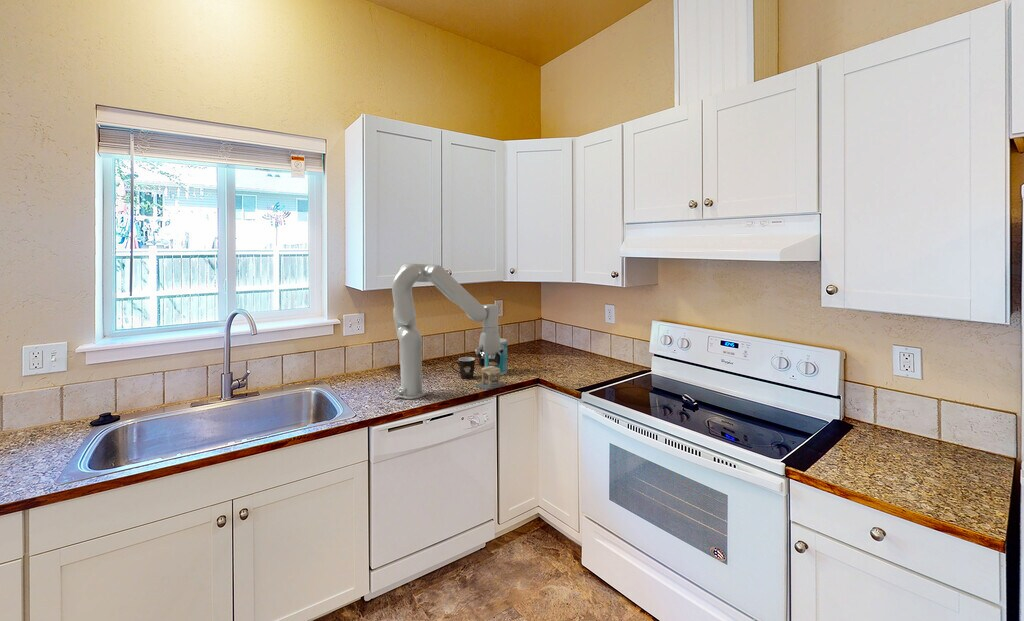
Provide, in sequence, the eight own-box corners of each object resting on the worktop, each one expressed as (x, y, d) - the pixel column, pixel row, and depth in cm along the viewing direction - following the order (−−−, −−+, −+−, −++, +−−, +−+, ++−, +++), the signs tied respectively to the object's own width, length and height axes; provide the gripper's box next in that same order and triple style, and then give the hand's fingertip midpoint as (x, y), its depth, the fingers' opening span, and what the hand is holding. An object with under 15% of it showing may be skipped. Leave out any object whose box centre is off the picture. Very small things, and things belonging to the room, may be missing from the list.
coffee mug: (477, 376, 236) (477, 357, 235) (471, 380, 228) (471, 361, 227) (457, 374, 239) (456, 356, 238) (450, 379, 231) (450, 360, 230)
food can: (491, 377, 234) (491, 343, 232) (481, 371, 244) (480, 339, 242) (511, 373, 240) (511, 341, 238) (500, 368, 250) (500, 337, 248)
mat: (486, 390, 213) (486, 388, 213) (475, 386, 219) (475, 384, 219) (506, 385, 220) (506, 383, 220) (494, 381, 227) (494, 379, 227)
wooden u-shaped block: (481, 383, 220) (481, 368, 219) (492, 381, 224) (491, 365, 223) (489, 386, 215) (489, 370, 214) (500, 384, 219) (500, 368, 218)
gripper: (499, 327, 224) (498, 360, 227) (471, 330, 213) (470, 365, 215) (508, 329, 219) (508, 363, 221) (480, 333, 207) (479, 368, 210)
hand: (489, 364), depth 218 cm, fingers open, 9 cm apart
